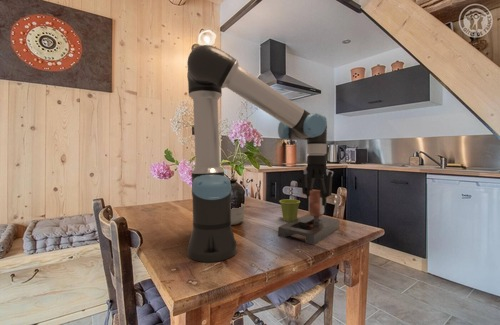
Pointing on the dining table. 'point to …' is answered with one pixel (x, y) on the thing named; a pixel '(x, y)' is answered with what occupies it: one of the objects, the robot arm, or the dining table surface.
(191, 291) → the dining table surface
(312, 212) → the peg
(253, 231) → the dining table surface
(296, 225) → the slot bracket
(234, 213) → the teacup
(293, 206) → the plant pot
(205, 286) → the dining table surface
